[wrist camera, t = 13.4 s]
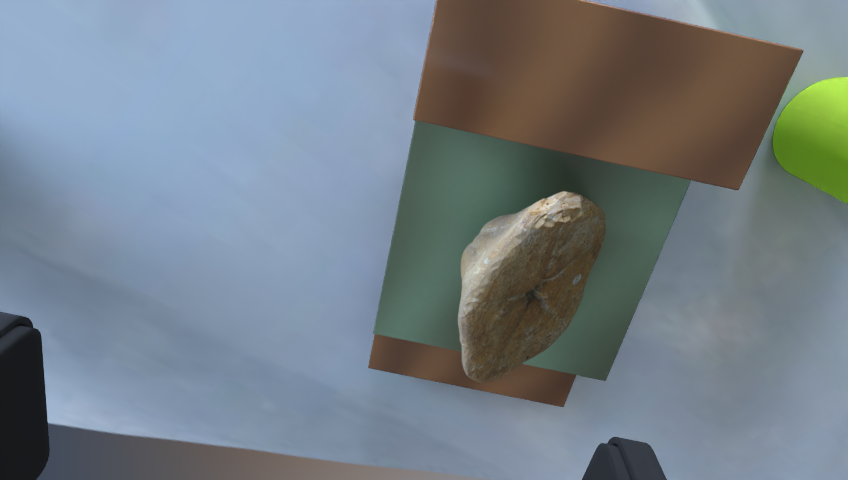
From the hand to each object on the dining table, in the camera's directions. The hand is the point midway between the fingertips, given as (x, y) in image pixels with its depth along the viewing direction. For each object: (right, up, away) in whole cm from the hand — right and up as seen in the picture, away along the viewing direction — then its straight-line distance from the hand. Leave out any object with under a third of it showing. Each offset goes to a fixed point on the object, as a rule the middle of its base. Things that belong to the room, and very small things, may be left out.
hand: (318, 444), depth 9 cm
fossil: (+7, +3, +19) cm, 21 cm away
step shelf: (+7, +5, +25) cm, 27 cm away
